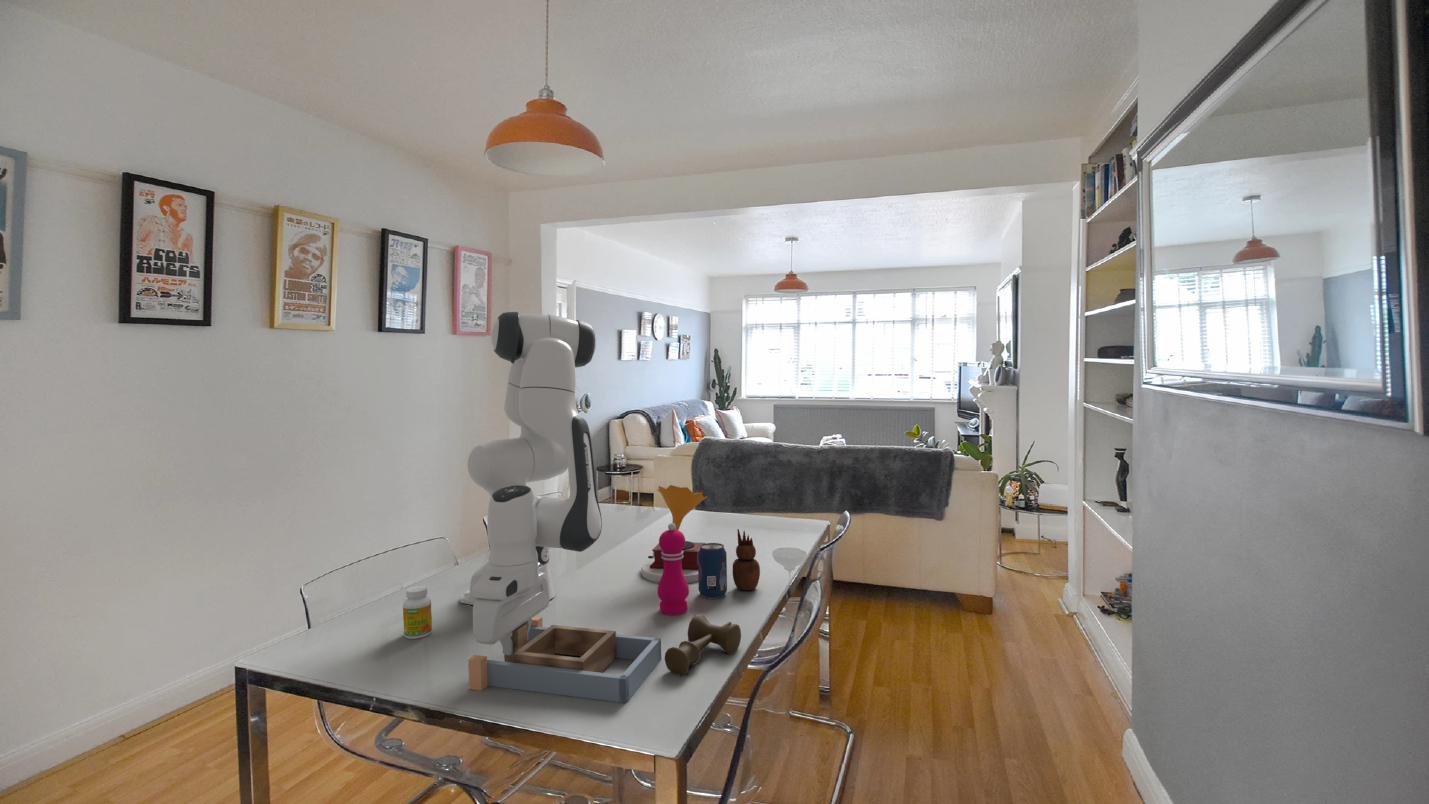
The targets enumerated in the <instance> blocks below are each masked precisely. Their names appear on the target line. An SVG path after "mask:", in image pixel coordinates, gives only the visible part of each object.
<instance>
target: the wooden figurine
mask: <svg viewBox="0 0 1429 804" xmlns="http://www.w3.org/2000/svg"><path fill="white" fill-rule="evenodd" d="M735 555H736V559H734V560H733V563H732V579H733V582H734V585H735V587H736V588H737V589H738V590H740V591H744V592H745V591H746V592H747V591H754V590H756V588H757V587H758V585H759V581H760V576H761V567H760V564H759V561H758V560H757V559H755V557H756V555H757V551H756V547H755V545H754V542H753V537H751V538H750V535H749V534H747V536H746V531H745V530H743V532H742V536H741V532H740V529H739V528H737V546H736V548H735Z"/></svg>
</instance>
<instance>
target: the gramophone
mask: <svg viewBox="0 0 1429 804" xmlns="http://www.w3.org/2000/svg"><path fill="white" fill-rule="evenodd" d="M656 491H657V492H659V493H660V494H661V496H662V498H663V500H664V503H665V505H666V506H667V508H668V509H669V511H670V513H671V516H672V517H671V518H672V520H671V521H672V522H671V523H674V524H675V526H676V529H675V530H678V531H680V530H679V529H680V527H681V524H682V522H683V520H684V519H685V517H686V516H687V515H688V514H689V513H690V512H691V511H693V510H694V509H695V508H696V507H697V506H698V505H699V504H700V503H702V501H704V500H705V499H707V498H708V497H709V496H704V494H703V491H699V492H695V493H693V491H692V490H691V489H689V488H688V487H686V486H685V487H684V486H683V487H680V486H675V485H671V484H670V485H669V486H667V487H666V488H664V486H660V485H658V489H656ZM702 544H706V543H705V542H692V541H687V540H685V546H684V547H683V549H682V551H683V558H682V561H681V565H682V571H683V574H684V576H685V578H686V581H687V583H690V584H691V583H697V582H698V552H699V550H700V546H701V545H702ZM651 550H652V555H649V556H648V557H647V560H645V561H644V562H642V564H641V567H640V572H641V576H642V577H643V578H645V579H646V580H648V581H650V582H655V583H659V582H660V579H661V577H662V574H663V570H664V561H663V559H662V558H661V556H662V554H661V552H662V551H663V550H662V549H661V548H660V546H659V543H657V544H656V545H655V546H654V547H653V548H652V549H651Z"/></svg>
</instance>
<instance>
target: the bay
mask: <svg viewBox="0 0 1429 804" xmlns="http://www.w3.org/2000/svg"><path fill="white" fill-rule="evenodd" d="M549 627H550V626H549ZM549 627H547V626H543V617H542V616H537V615H535V616H534V617H532V623H531V627H530V630H529V633H528V642H527V643H529V642H530V641H531V640H533V639H534V638H535V637H537V636H538V635H539V634H541V633H542V632H543V631H545V630H546V629H547V628H549ZM616 658H620V659H629V660H634V661H633V662H632V663H631V664H629V666H628V667H627V668H626V670H625V671H624V672H623V673H622V674H615V673H606V672H601V673H599V672H590V671H582V670H573V669H564V668H556V667H547V666H538V665H529V664H521V663H512V662H505V661H500V660H493V659H488V656H486V655H480V654H479V655H477V654H474V655H473V656H471V657H470V658H468V660H467V663H468V667H467V668H468V689H469V690H474V691H482V690H483V691H484V689H486V688H487V687H496V688H504V689H513V690H518V691H519V690H520V691H528V692H535V693H545V694H551V695H552V694H553V695H558V696H559V695H560V696H567V697H568V696H569V697H575V698H583V699H589V700H598V701H605V702H615V703H623V704H627V703H628V702H629V700H630V699H631V698H632V697H633V696H634V694H635V693H636V691H637V690H638V689H639V688H640V686H641V685H643V683H644V682H645V680H646V679H647V678H648V677H649V676H650V674H651V673H652V672H653V670H654V669H655V668H656V666H658V664H659V663H660V662H661V660H662V638H660V637H654V636H653V637H650V636H640V635H629V634H621V633H619V634H618V633H616Z"/></svg>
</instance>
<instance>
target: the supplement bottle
mask: <svg viewBox="0 0 1429 804" xmlns="http://www.w3.org/2000/svg"><path fill="white" fill-rule="evenodd" d="M405 595H406V599H405V600H404V601H403V603H402V612H403V614H402V616H403V618H402V619H403V636H404V637H405V638H406V639H408V640H418V639H421V638H426V637H427V636H430V635H431V634H432V633H433V617H432V599H431V598H430V597H429V596H428V587H427V586H425V585H415V586H411V587H409V588H407V589H406V591H405Z"/></svg>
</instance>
